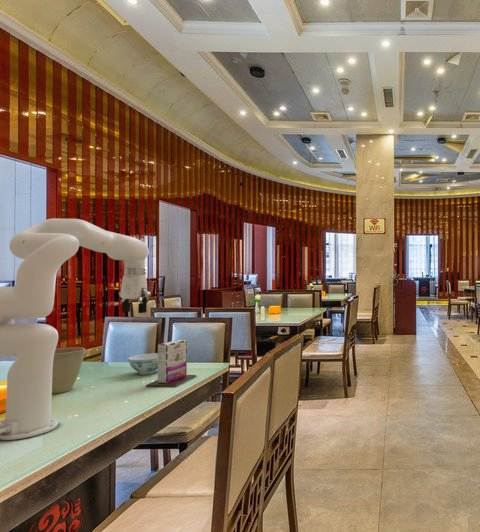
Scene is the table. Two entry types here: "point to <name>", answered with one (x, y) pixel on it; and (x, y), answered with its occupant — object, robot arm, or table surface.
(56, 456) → the table surface
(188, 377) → the plate
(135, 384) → the table surface
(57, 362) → the plant pot
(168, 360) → the candy bar box
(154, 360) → the chinaware
